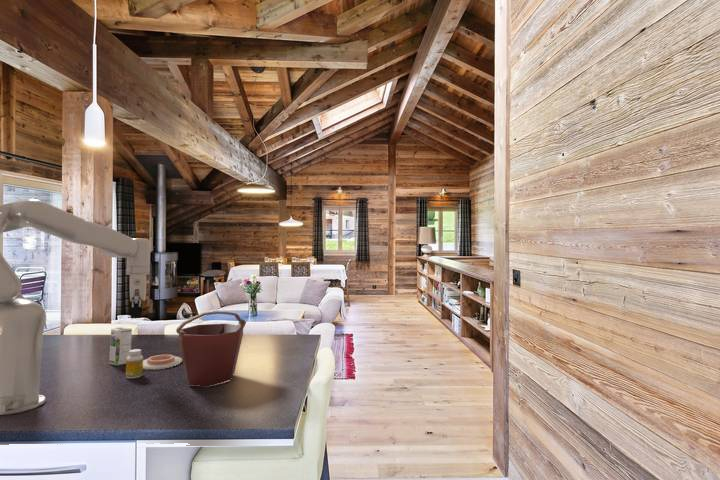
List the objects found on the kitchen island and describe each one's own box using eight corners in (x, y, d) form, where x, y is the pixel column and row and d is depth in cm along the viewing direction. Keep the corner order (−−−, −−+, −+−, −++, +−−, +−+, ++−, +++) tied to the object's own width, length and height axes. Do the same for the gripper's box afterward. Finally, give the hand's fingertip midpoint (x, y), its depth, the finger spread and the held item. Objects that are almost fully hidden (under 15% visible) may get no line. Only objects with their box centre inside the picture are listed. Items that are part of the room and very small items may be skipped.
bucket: (243, 367, 150) (245, 306, 151) (247, 386, 130) (249, 315, 131) (177, 373, 141) (180, 308, 142) (170, 394, 121) (173, 318, 122)
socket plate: (183, 366, 150) (183, 360, 150) (137, 372, 142) (137, 365, 142) (180, 356, 164) (181, 351, 164) (139, 361, 156) (139, 355, 156)
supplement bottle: (134, 379, 134) (135, 352, 134) (121, 378, 135) (123, 351, 135) (145, 374, 139) (146, 349, 140) (133, 373, 140) (134, 348, 141)
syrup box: (108, 363, 151) (110, 328, 152) (123, 360, 156) (124, 326, 157) (116, 366, 149) (117, 330, 149) (130, 362, 154) (132, 327, 154)
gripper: (149, 271, 133) (147, 319, 132) (149, 269, 148) (148, 311, 147) (124, 272, 129) (123, 320, 129) (127, 269, 144) (126, 313, 144)
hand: (136, 315), depth 138 cm, fingers open, 9 cm apart
